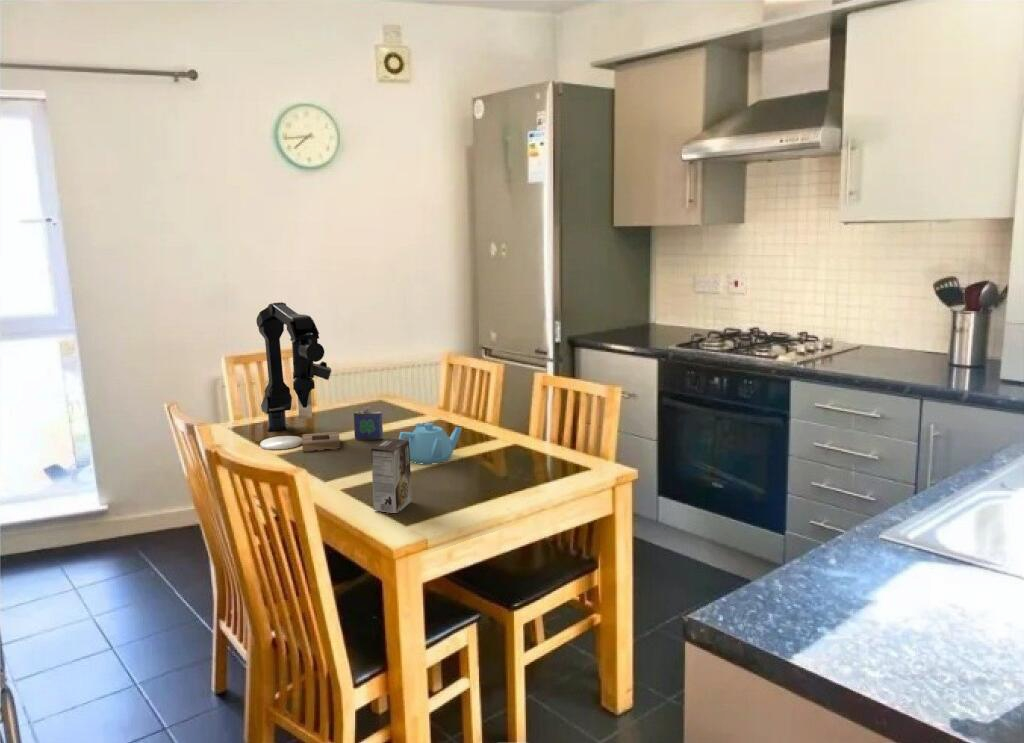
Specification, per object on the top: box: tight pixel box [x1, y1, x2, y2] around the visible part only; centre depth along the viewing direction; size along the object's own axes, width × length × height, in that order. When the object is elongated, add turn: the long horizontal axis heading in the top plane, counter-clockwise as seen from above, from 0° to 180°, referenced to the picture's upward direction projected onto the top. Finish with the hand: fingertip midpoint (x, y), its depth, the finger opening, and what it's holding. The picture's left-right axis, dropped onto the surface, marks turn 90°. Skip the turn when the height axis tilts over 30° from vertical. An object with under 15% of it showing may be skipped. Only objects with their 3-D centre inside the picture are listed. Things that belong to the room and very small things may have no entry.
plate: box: [259, 435, 302, 451], centre depth 244 cm, size 13×13×1 cm
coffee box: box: [370, 437, 413, 513], centre depth 188 cm, size 9×6×16 cm
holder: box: [301, 431, 341, 452], centre depth 242 cm, size 11×11×2 cm
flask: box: [353, 406, 384, 441], centre depth 248 cm, size 9×3×11 cm, turn 88°
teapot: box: [398, 422, 463, 465], centre depth 227 cm, size 15×15×11 cm
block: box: [297, 390, 313, 420], centre depth 240 cm, size 4×4×9 cm
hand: (304, 405), depth 241 cm, fingers closed on block, 4 cm apart
